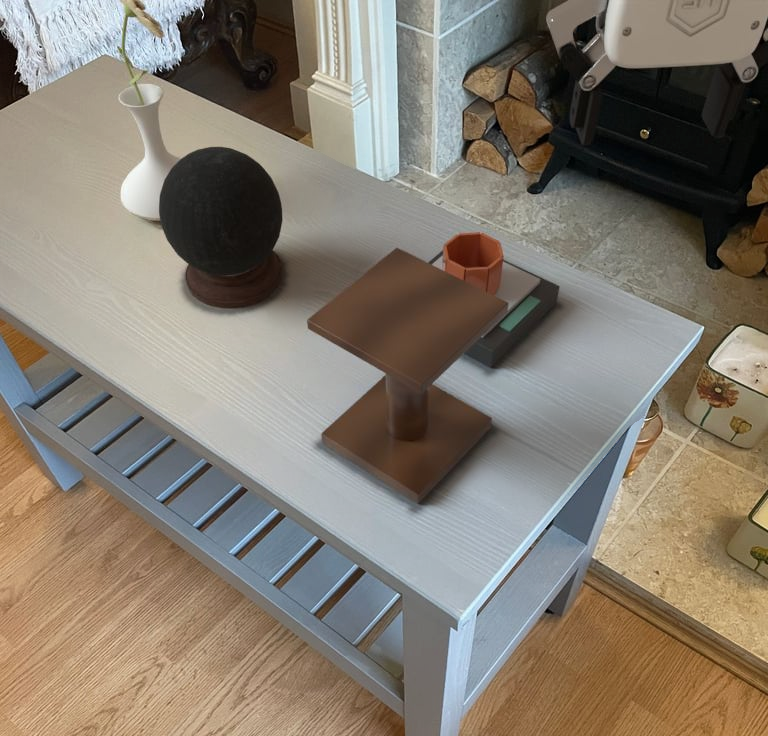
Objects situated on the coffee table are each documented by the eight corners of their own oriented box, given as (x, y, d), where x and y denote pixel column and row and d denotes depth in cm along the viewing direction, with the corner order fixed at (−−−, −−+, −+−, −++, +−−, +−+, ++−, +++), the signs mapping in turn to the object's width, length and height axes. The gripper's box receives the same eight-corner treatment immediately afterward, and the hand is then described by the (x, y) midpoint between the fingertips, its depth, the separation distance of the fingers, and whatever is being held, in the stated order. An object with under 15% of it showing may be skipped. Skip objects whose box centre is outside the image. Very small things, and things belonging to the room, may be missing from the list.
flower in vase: (220, 221, 100) (173, 2, 80) (127, 236, 99) (56, 18, 78) (206, 163, 108) (160, -51, 87) (120, 177, 106) (53, -38, 85)
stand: (491, 427, 80) (509, 302, 67) (417, 504, 75) (421, 385, 62) (397, 374, 85) (396, 246, 72) (321, 443, 80) (306, 319, 66)
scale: (556, 303, 91) (561, 281, 88) (491, 368, 85) (493, 347, 83) (456, 254, 96) (457, 233, 93) (388, 313, 90) (387, 291, 88)
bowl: (493, 265, 90) (497, 231, 86) (502, 301, 87) (506, 267, 83) (439, 268, 90) (441, 234, 86) (445, 305, 86) (447, 271, 83)
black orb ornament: (300, 244, 97) (286, 125, 85) (277, 318, 90) (258, 199, 78) (195, 236, 99) (166, 117, 86) (163, 309, 91) (127, 190, 79)
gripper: (586, -128, 43) (540, 167, 57) (902, -142, 44) (779, 153, 58) (559, -174, 47) (522, 110, 61) (847, -187, 48) (745, 98, 62)
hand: (647, 131), depth 60 cm, fingers open, 9 cm apart
